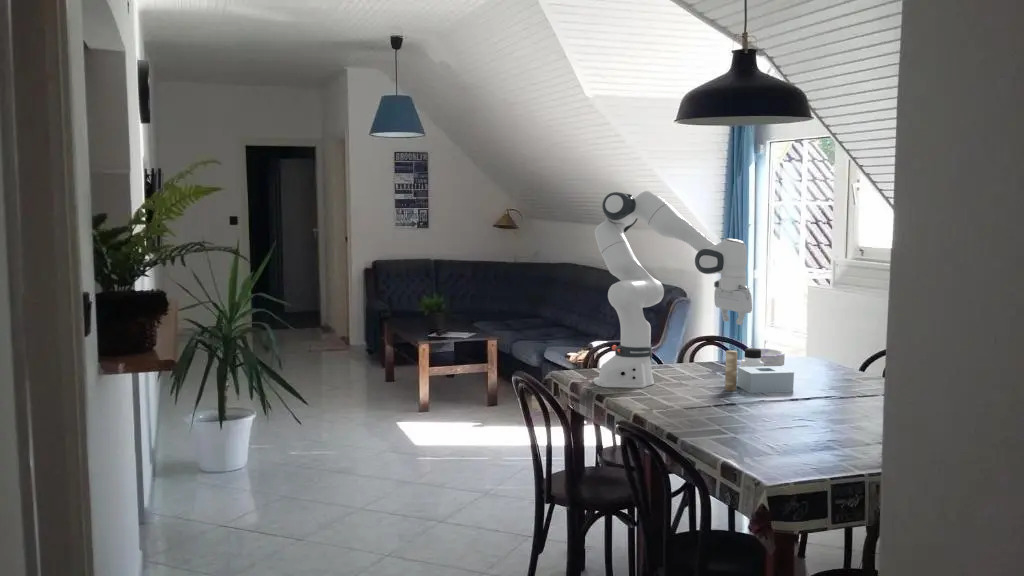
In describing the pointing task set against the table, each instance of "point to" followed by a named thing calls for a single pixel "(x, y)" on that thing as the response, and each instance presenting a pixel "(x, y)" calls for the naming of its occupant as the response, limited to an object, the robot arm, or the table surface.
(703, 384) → the table surface
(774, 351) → the paper bowls
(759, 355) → the medicine bottle
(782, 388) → the socket block
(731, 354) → the peg
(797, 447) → the table surface
